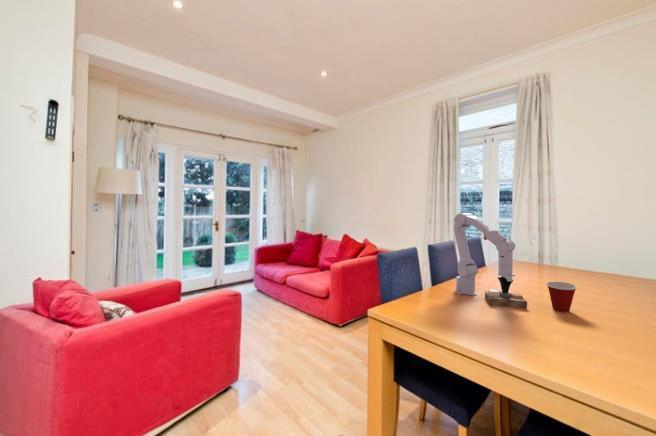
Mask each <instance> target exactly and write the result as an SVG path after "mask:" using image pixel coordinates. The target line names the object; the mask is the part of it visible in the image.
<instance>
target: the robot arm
mask: <svg viewBox="0 0 656 436" xmlns="http://www.w3.org/2000/svg"><path fill="white" fill-rule="evenodd" d="M453 222H454V225H453V233H454V238H455V241H456V242H455V243H456V245H457V251H458V256H459V261H458V263H457V274H458V275H456V277H455V291H456V293H457V294H458V295H459V294H461V295H468V296H469V295H471V296H477V293H476V275H477V274H478V273H479V268H478V266H477V265H476V262H475V261H474V260H473V259H472V257H471V256H472V255H471V253H470V252H471V251H470V249H469V243H468V238H467V234H466V230H467V229H468V227H470V226H473V227H474V228H476V229H477V230H479V231H480V232H481V233H482V234H484V235H485V239H487V240H488V241H489V242H491V244H493V245H494V247H495V249H496V250H497V252H498V273H497V275H498V276H497V279H498V281H499V284H500V287H501V291H502V292H503V293H508V292H509V291H510V287H511V285H512V283H513V282H514V279H513V277H516V274H514V273H513V261H514V259H513V256H514V255H513V254H514V253H513V252H514V251H515V249H516V244H515V243H514V241H513V240H511V239H507V237H506V236H503V235H502V234H500V233H499V230H498V229H497V230H495V229H491V228H489V227H488V226H487V225H486V224H485V223H484V222H482V221H481V219H479V218H478V216H477V215H475V214H474V213H472V212H469V213H463V212H462V213H461V212H459V213H457V214H456V215H455V216H454V218H453Z"/></svg>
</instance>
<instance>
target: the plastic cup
mask: <svg viewBox="0 0 656 436" xmlns="http://www.w3.org/2000/svg"><path fill="white" fill-rule="evenodd" d="M546 286H547V289H548V291H549V297H550V302H551V307H552V310H554V311H557V312H560V313H570V311H571V306H572V304H573V299H574V297H575V293H576V290H577V288H578V286H577V285H576V284H574V283H571V282H570V283H569V282H564V281H547V282H546Z"/></svg>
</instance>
